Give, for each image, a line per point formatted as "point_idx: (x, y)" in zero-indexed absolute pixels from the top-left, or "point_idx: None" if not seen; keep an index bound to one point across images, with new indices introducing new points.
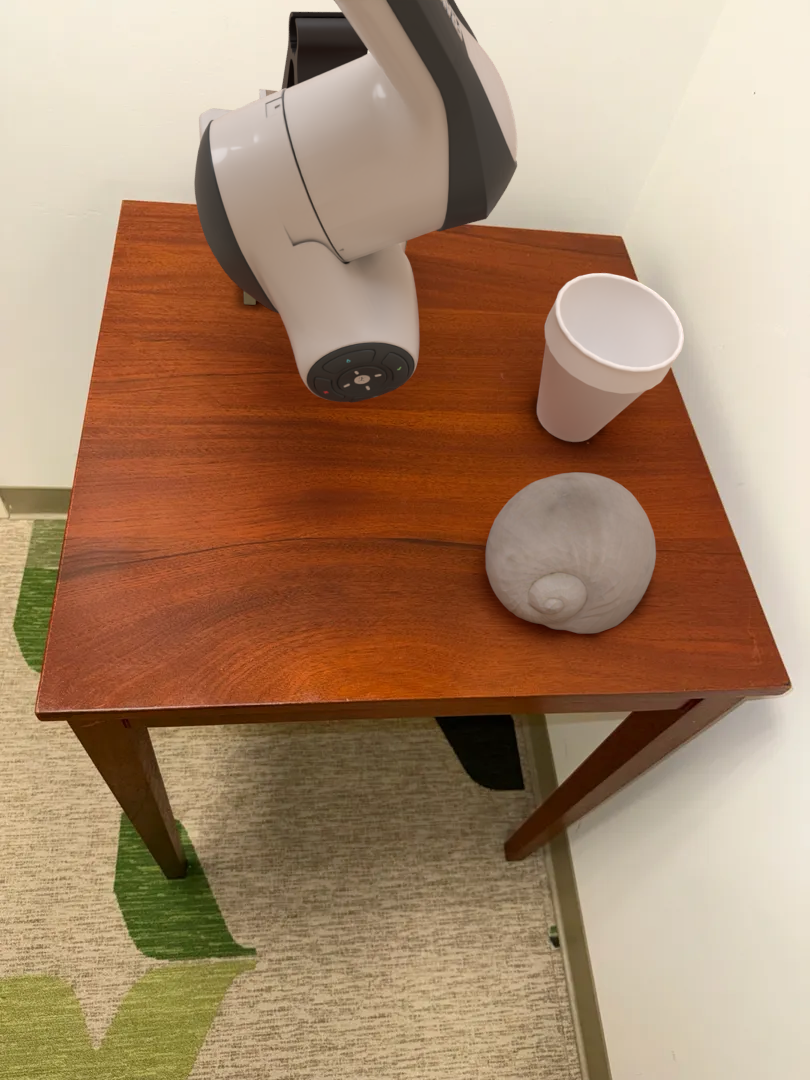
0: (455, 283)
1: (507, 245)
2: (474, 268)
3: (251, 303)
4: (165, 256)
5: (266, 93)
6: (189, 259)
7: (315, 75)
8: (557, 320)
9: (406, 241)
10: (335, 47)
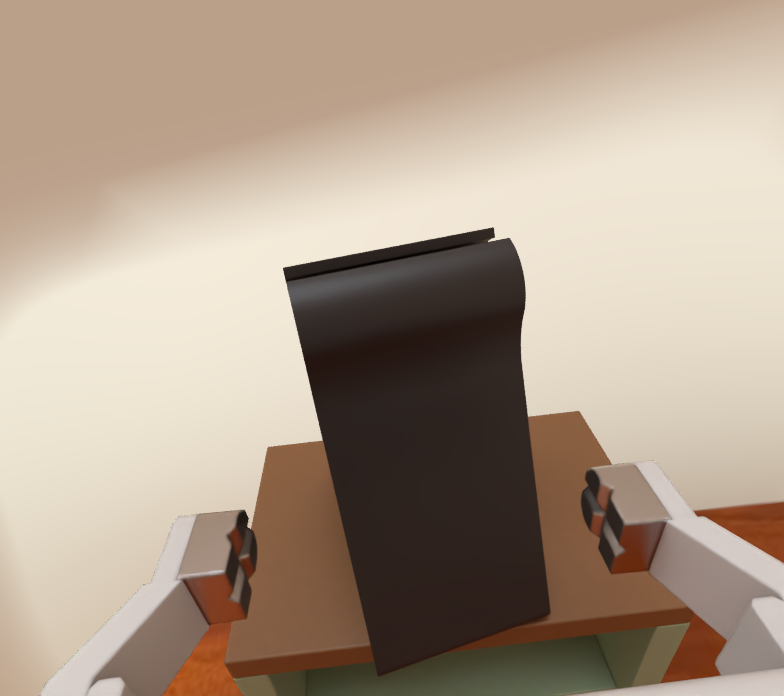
0: (712, 643)
1: (754, 526)
2: None
3: None
4: (185, 672)
5: (190, 538)
6: (224, 672)
7: (375, 414)
8: None
9: (658, 683)
10: (424, 332)
